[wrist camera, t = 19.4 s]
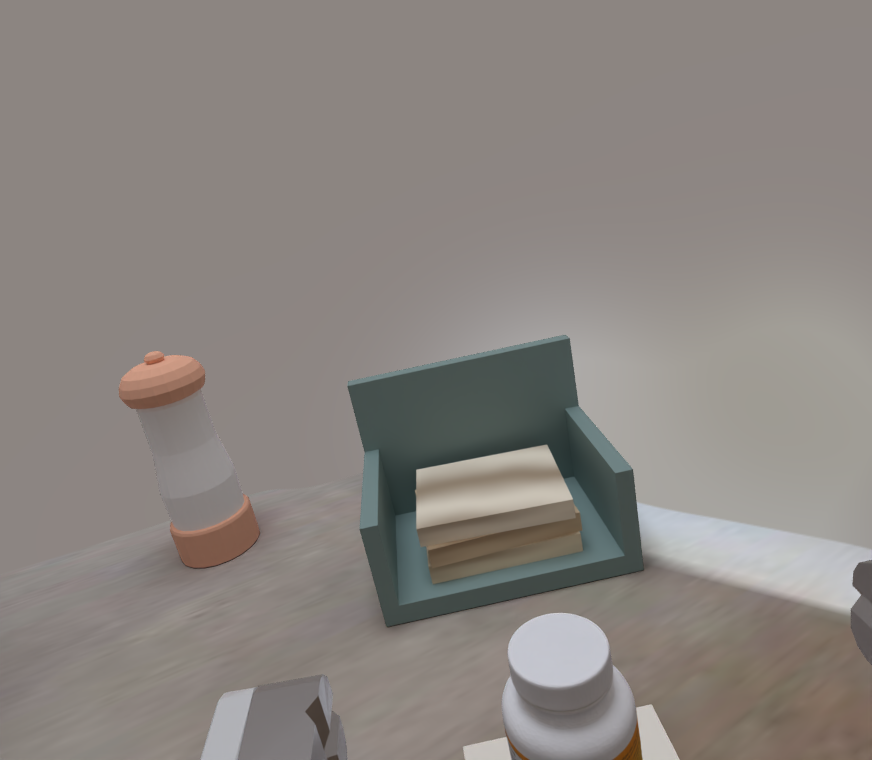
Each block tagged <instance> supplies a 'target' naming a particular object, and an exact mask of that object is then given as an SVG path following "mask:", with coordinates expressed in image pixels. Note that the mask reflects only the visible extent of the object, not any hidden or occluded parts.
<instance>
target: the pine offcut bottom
mask: <svg viewBox="0 0 872 760" xmlns="http://www.w3.org/2000/svg"><path fill="white" fill-rule="evenodd" d="M426 550H427V558H428V567H429V571H430V575H431V579H432V584H436V583H441V582H445V581H450V580H454V579H459V578H464V577H468V576H473V575H477V574H482V573H486V572H491V571H495V570H500V569H504V568H509V567H513V566H518V565H522V564H527V563H532V562H536V561H541V560H545V559H550V558H554V557H559V556H563V555H568V554H572V553H577V552H581V551H583V547H582V540H581V533H580V531H578V532H574V533H570V534H566V535H562V536H558V537H554V538H550V539H547V540H543V541H539V542H535V543H531V544H527V545H523V546H519V547H515V548H511V549H507V550H503V551H499V552H495V553H491V554H487V555H483V556H479V557H475V558H472V559H468V560H464V561H460V562H456V563H452V564H448V565H444V566H440V567H436V568H432V566H431V561H430V557H429V553H428V549H427V546H426Z"/></svg>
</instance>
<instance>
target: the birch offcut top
mask: <svg viewBox="0 0 872 760" xmlns="http://www.w3.org/2000/svg"><path fill="white" fill-rule="evenodd" d="M573 518H576V516H575V509H574V502H573V498H572V496H571V494H570V492H569V490H568V487H567V485H566V483H565V481H564V479H563V477H562V475H561V473H560V471H559V469H558V466H557V464H556V462H555V460H554V458H553V456H552V454H551V452H550V450H549V448H548V445H542V446H537V447H531V448H526V449H521V450H516V451H511V452H506V453H500V454H495V455H490V456H485V457H480V458H474V459H469V460H464V461H459V462H454V463H449V464H443V465H438V466H433V467H428V468H423V469H418V470H416V530H417V534H418V538H419V542H420V546H421V547H425V546H430V545H435V544H441V543H446V542H451V541H456V540H462V539H467V538H472V537H478V536H483V535H488V534H494V533H499V532H504V531H509V530H515V529H520V528H525V527H531V526H536V525H541V524H547V523H552V522H557V521H562V520H568V519H573Z"/></svg>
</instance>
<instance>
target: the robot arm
mask: <svg viewBox="0 0 872 760" xmlns="http://www.w3.org/2000/svg"><path fill="white" fill-rule="evenodd" d="M853 586H854V587H855V588H856V589H857V591H858V592H859V593H860V594H861V596H860V598H859V599H858V600H857V602H856V603H855V604H854V606H853V607H852V608H851V629H852V632H853V635H854V638H855V640H856V643H857V646H858V647H859V649H860V650H861V652H862V653H863V655H864V656H865V658H866V659H867V661H868V662H869V663H870V664H871V665H872V560H869V561H865V562H860V563H859V564H858V565H857V567H856V568H855V570H854V573H853ZM332 697H333V693H332V690H331V687H330V684H329V681H328V678H327V676H325V675H323V674H322V675H316V676H311V677H305V678H300V679H294V680H289V681H283V682H278V683H272V684H267V685H261V686H258V687H256V688H250V689H244V690H238V691H232V692H227V693H224V694H223V696H222V697H221V698H220V700H219V701H218V703H217V706H216V709H215V712H214V716H213V719H212V722H211V726H210V729H209V732H208V735H207V739H206V742H205V745H204V749H203V752H202V755H201V759H200V760H347V747H346V740H345V735H344V729H343V726H342V722H341V719H340V716H339V715H337V714H336V713H334V712H333V711H331V710H332Z"/></svg>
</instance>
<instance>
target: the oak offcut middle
mask: <svg viewBox="0 0 872 760" xmlns="http://www.w3.org/2000/svg"><path fill="white" fill-rule="evenodd" d="M415 493H416V490H415ZM574 509H575V516H576V518H573V519H568V520H562V521H557V522H552V523H547V524H541V525H536V526H531V527H525V528H520V529H515V530H509V531H504V532H499V533H494V534H488V535H483V536H478V537H472V538H467V539H462V540H456V541H451V542H446V543H441V544H435V545H430V546H427V549H428V553H429V557H430V561H431V566H432V568H436V567H440V566H444V565H448V564H452V563H456V562H460V561H464V560H468V559H472V558H475V557H479V556H483V555H487V554H491V553H495V552H499V551H503V550H507V549H511V548H515V547H519V546H523V545H527V544H531V543H535V542H539V541H543V540H547V539H550V538H554V537H558V536H562V535H566V534H570V533H574V532H578V531H582V524H581V516H580V512H579V510H578V509H577V507H576V506H575V505H574Z"/></svg>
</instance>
